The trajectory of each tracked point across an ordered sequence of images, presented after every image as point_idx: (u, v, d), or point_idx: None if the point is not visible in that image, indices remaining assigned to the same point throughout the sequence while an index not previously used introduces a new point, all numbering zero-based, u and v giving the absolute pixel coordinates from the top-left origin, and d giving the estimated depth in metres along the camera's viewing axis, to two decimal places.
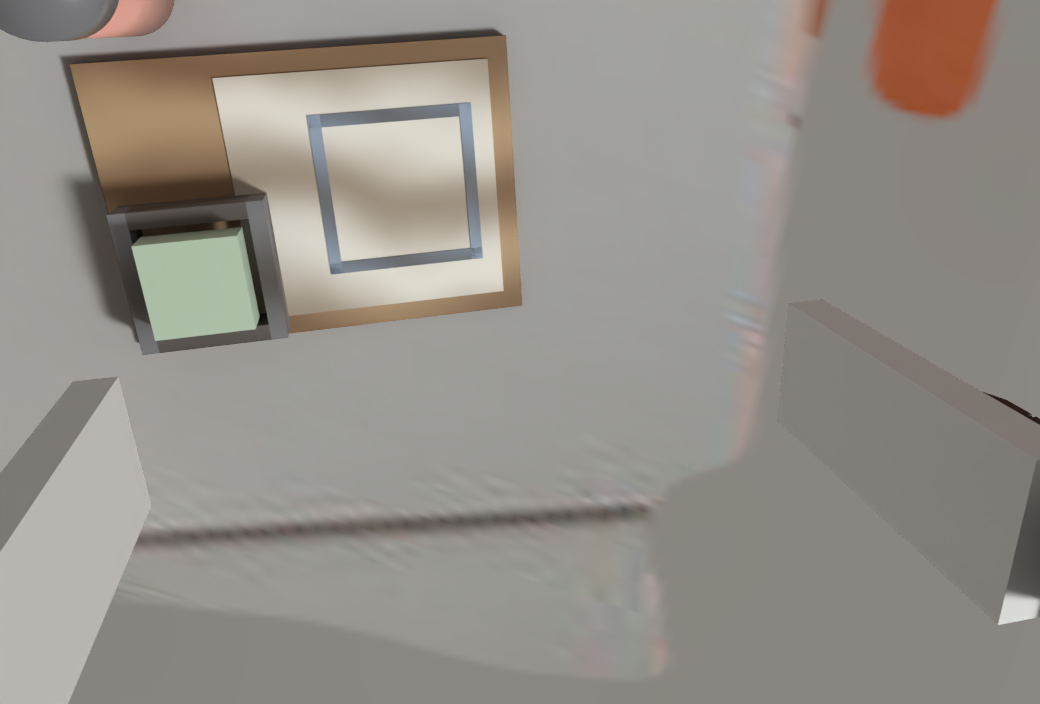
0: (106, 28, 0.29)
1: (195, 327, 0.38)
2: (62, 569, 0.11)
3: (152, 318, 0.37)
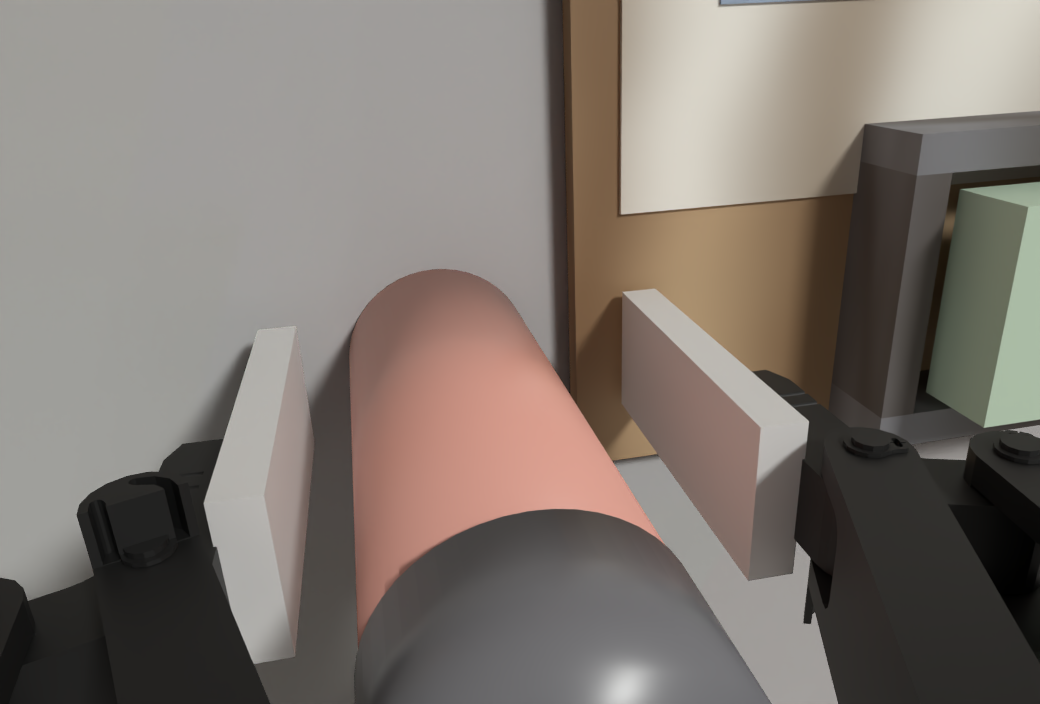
0: (650, 522, 0.10)
1: None
2: (291, 476, 0.13)
3: None
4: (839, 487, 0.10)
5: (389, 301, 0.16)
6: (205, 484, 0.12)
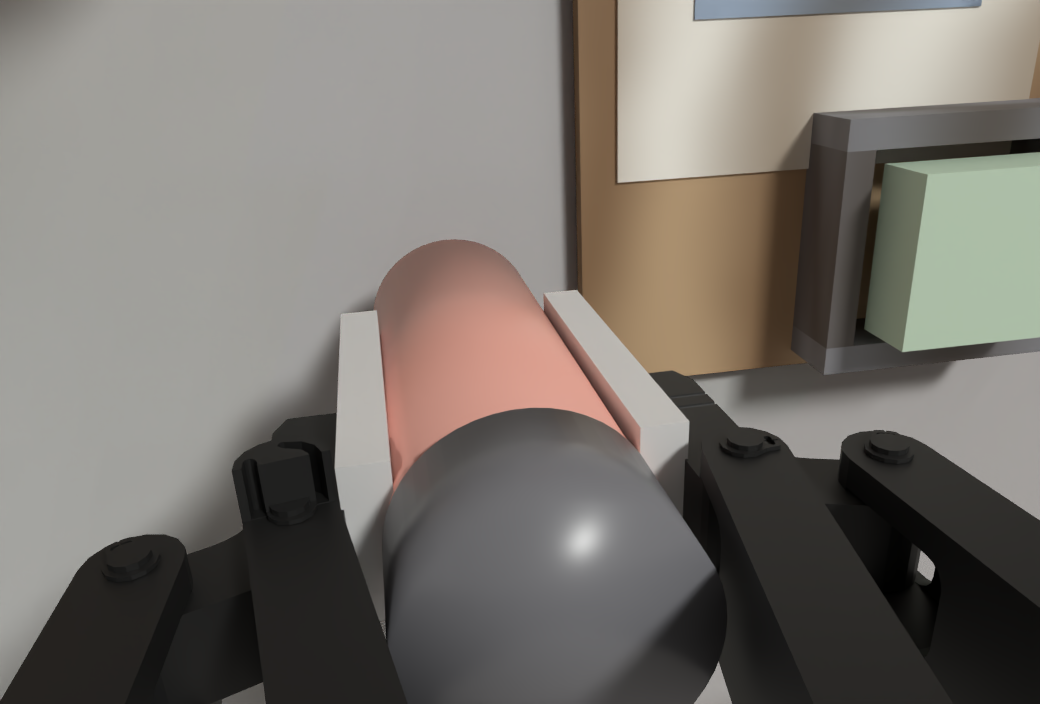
0: (618, 427, 0.12)
1: None
2: None
3: (1022, 335, 0.21)
4: (719, 490, 0.10)
5: (406, 268, 0.19)
6: None
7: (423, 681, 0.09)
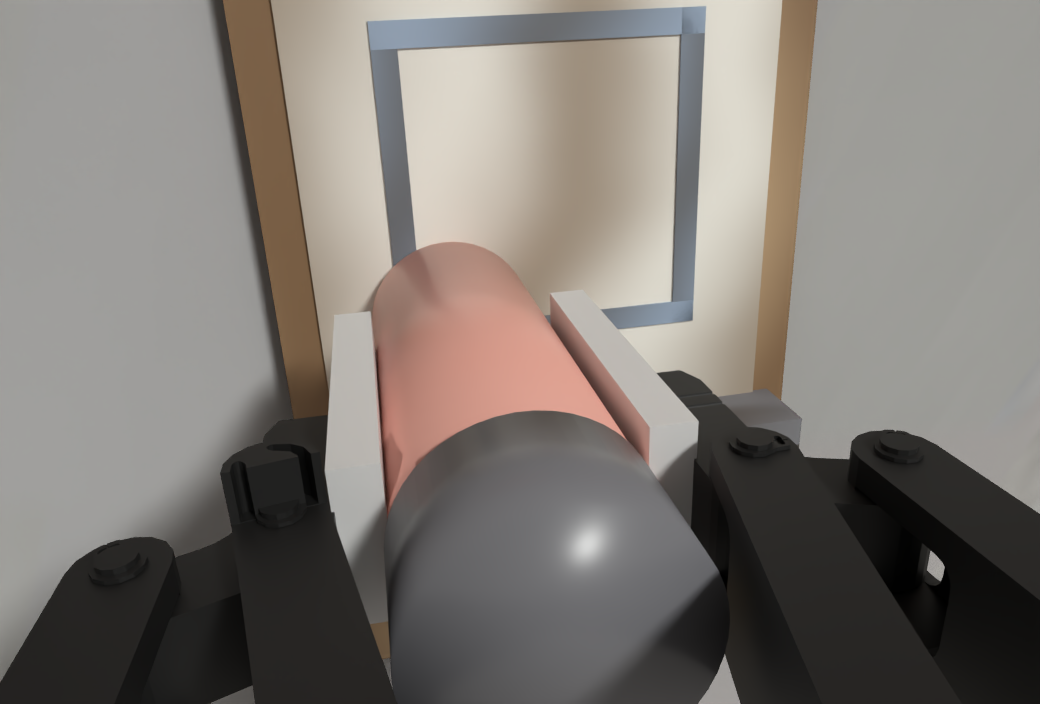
0: (619, 429, 0.12)
1: None
2: None
3: None
4: (728, 490, 0.10)
5: (405, 270, 0.19)
6: None
7: (427, 684, 0.09)
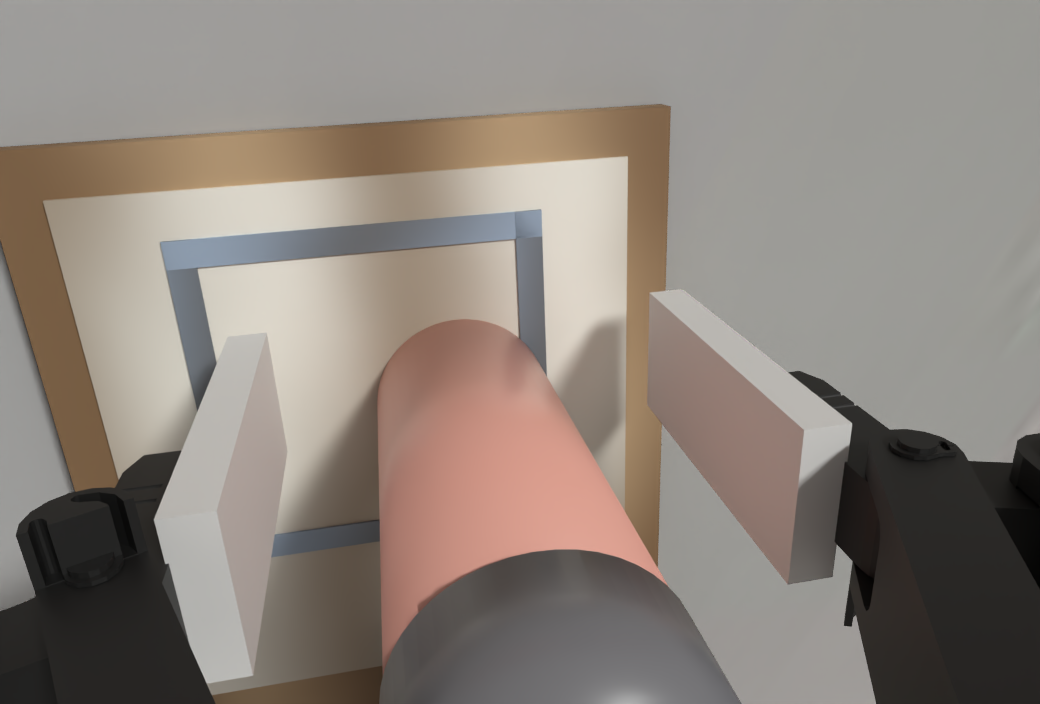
0: (660, 573, 0.11)
1: None
2: (255, 488, 0.13)
3: None
4: (883, 488, 0.10)
5: (423, 344, 0.17)
6: (163, 497, 0.12)
7: None
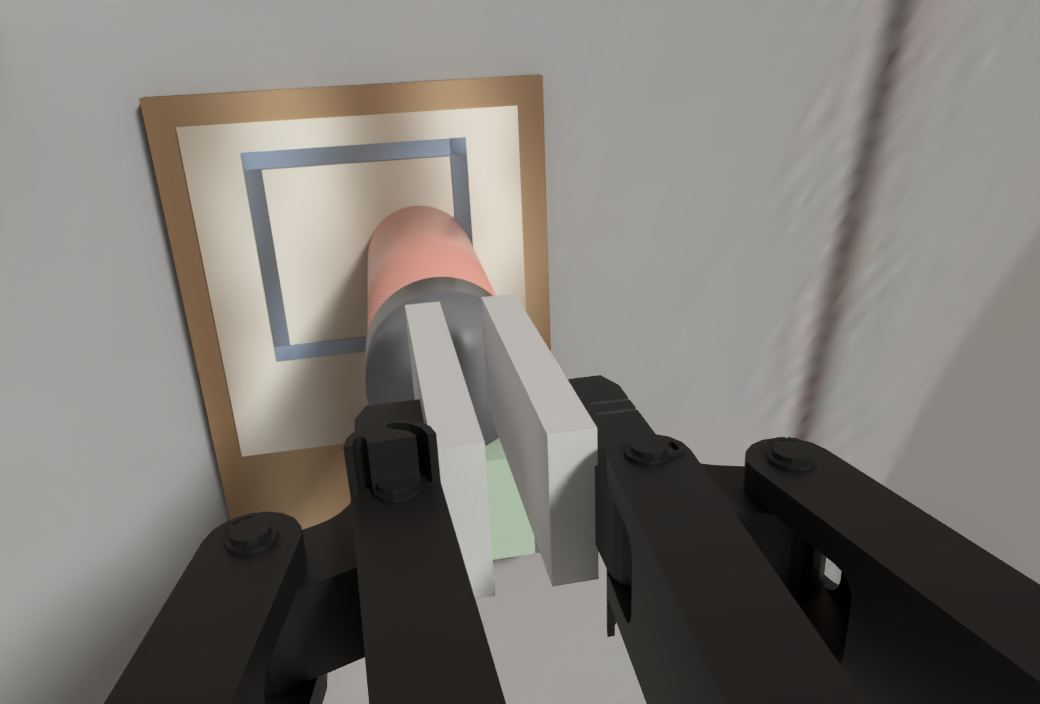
0: None
1: (522, 515, 0.32)
2: None
3: (507, 555, 0.33)
4: (627, 501, 0.10)
5: (394, 218, 0.29)
6: None
7: (381, 384, 0.20)
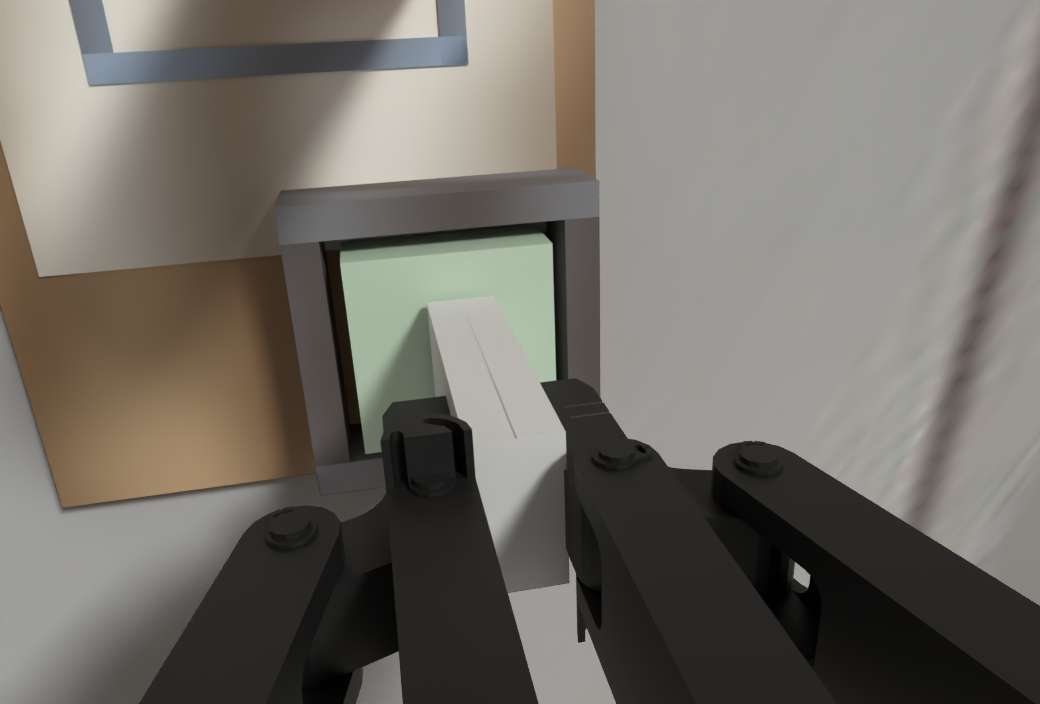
0: None
1: (536, 358, 0.19)
2: None
3: None
4: (596, 507, 0.10)
5: None
6: None
7: None
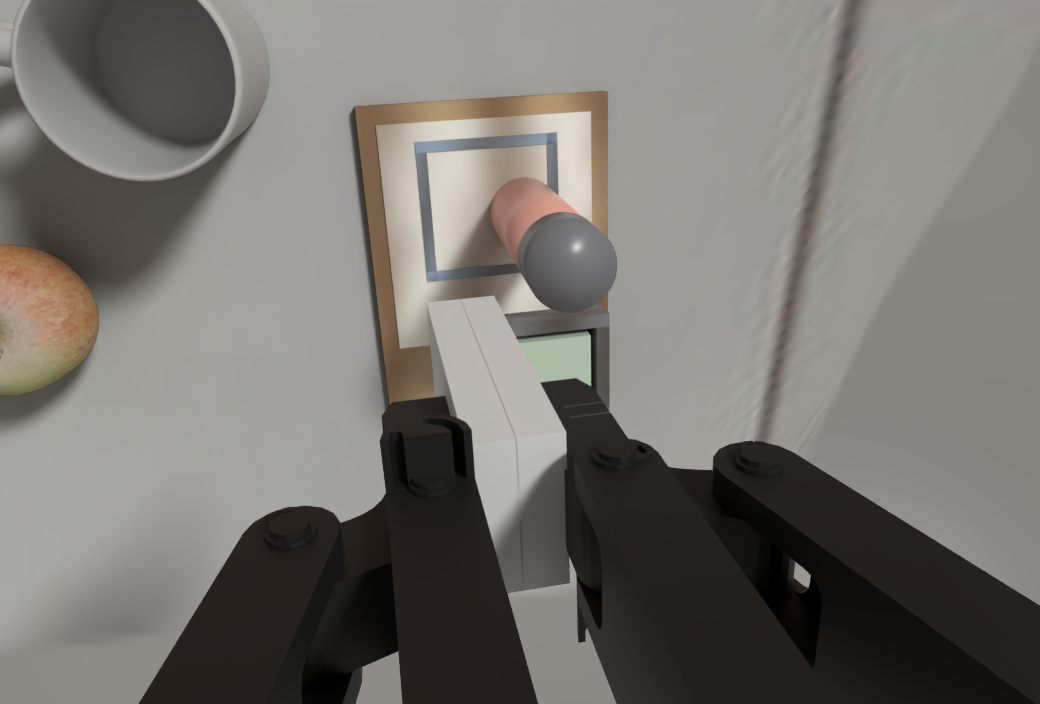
0: None
1: (583, 377, 0.49)
2: None
3: None
4: (596, 507, 0.10)
5: (511, 184, 0.45)
6: None
7: (535, 268, 0.35)
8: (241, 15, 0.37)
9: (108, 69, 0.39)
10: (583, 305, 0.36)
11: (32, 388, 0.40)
